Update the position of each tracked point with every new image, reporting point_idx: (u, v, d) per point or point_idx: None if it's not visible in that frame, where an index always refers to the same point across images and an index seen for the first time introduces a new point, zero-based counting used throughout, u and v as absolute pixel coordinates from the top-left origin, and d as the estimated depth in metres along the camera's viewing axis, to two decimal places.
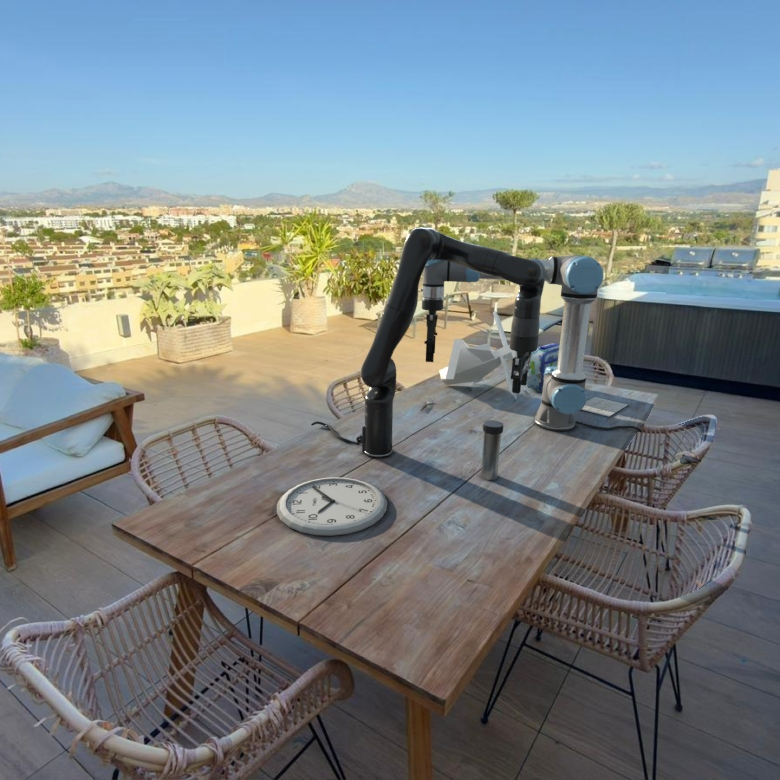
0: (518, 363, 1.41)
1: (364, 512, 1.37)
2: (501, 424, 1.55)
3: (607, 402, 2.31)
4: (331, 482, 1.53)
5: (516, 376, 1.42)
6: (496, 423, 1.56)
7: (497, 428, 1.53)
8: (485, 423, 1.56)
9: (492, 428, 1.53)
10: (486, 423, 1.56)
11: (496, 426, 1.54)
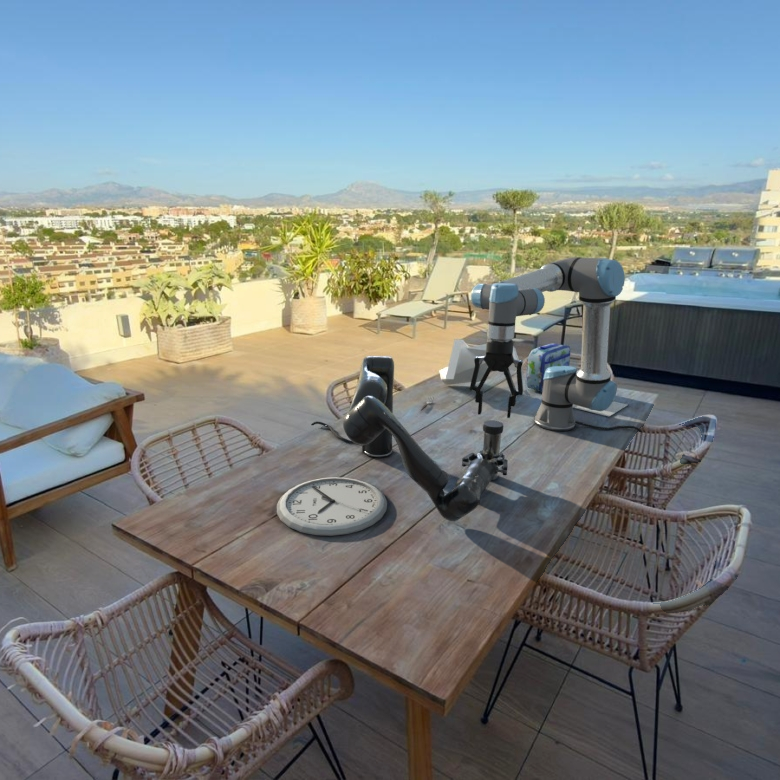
0: None
1: (364, 512, 1.37)
2: (501, 424, 1.55)
3: None
4: (331, 482, 1.53)
5: (470, 458, 1.59)
6: (496, 423, 1.56)
7: (497, 428, 1.53)
8: (485, 423, 1.56)
9: (492, 428, 1.53)
10: (486, 423, 1.56)
11: (496, 426, 1.54)
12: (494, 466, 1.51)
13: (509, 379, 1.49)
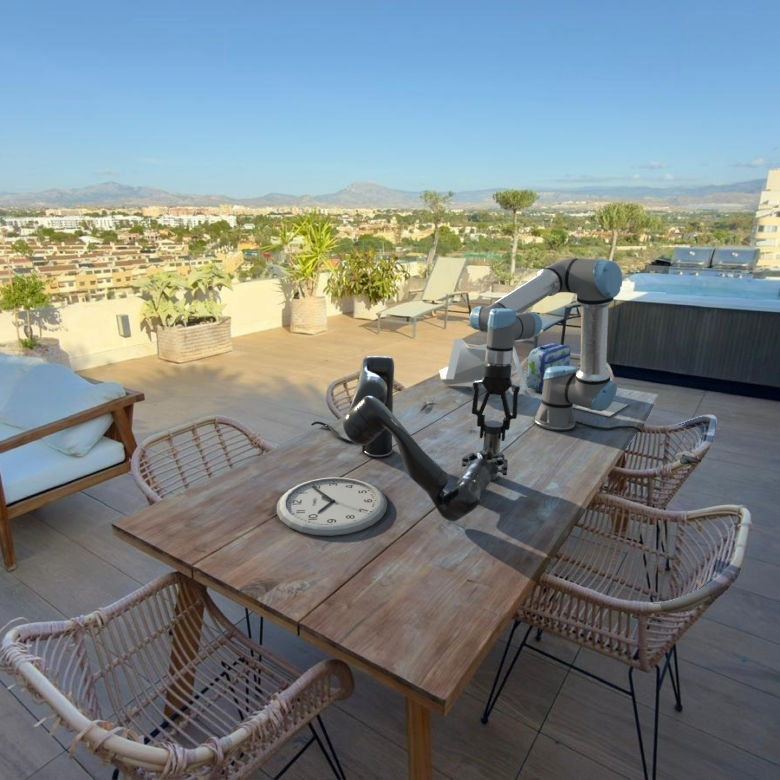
0: None
1: (364, 512, 1.37)
2: (501, 424, 1.55)
3: None
4: (331, 482, 1.53)
5: (470, 458, 1.59)
6: (496, 423, 1.56)
7: (497, 428, 1.53)
8: (485, 423, 1.56)
9: (492, 428, 1.53)
10: (486, 423, 1.56)
11: (496, 426, 1.54)
12: (494, 466, 1.51)
13: (505, 403, 1.52)
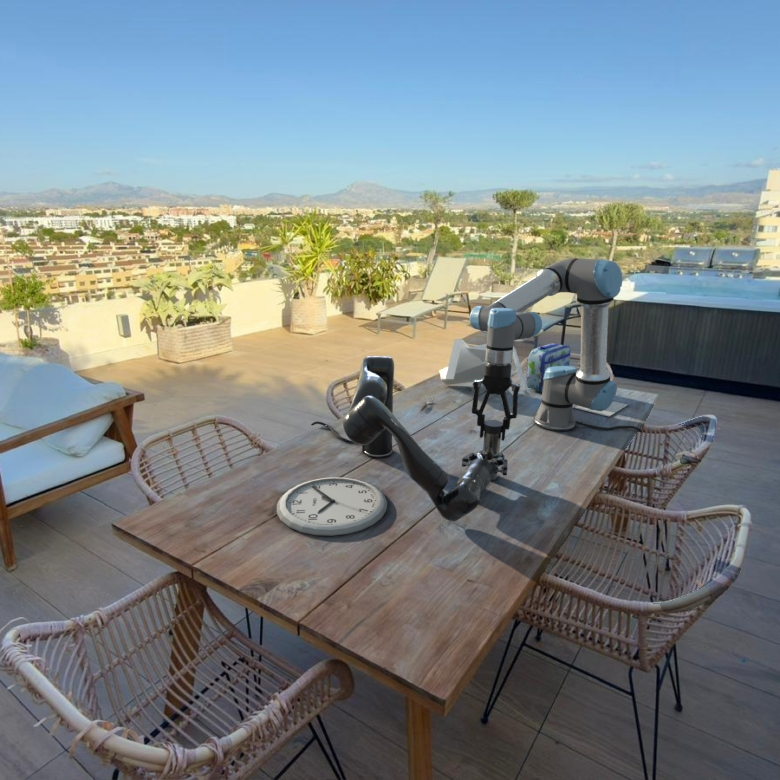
0: None
1: (364, 512, 1.37)
2: (490, 420, 1.58)
3: None
4: (331, 482, 1.53)
5: (470, 458, 1.59)
6: (491, 422, 1.57)
7: None
8: (497, 425, 1.54)
9: None
10: (497, 425, 1.54)
11: (498, 421, 1.57)
12: (494, 466, 1.51)
13: (505, 402, 1.52)
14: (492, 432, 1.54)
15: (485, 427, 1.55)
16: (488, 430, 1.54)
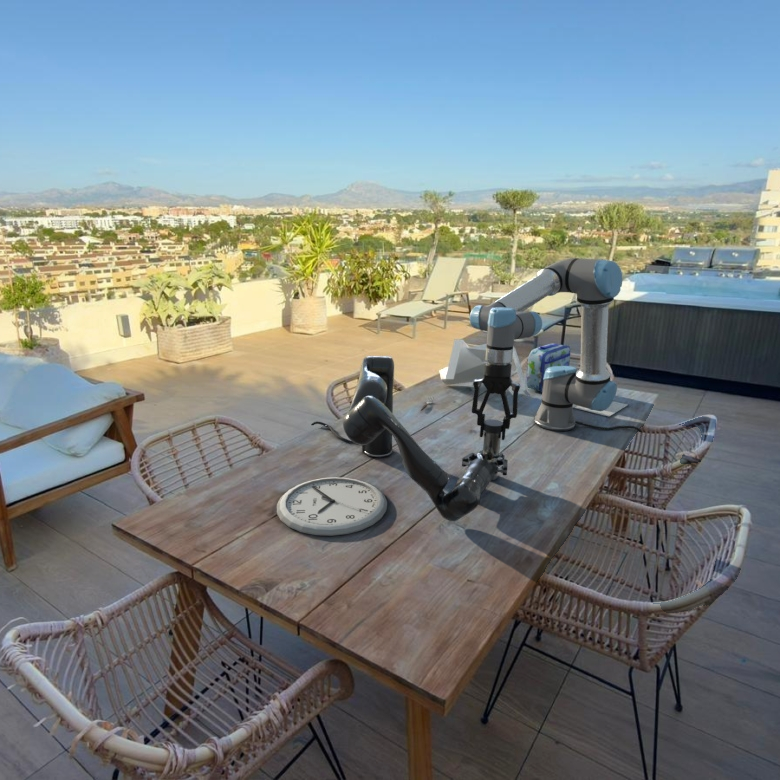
0: None
1: (364, 512, 1.37)
2: (487, 424, 1.55)
3: None
4: (331, 482, 1.53)
5: (470, 458, 1.59)
6: (491, 423, 1.55)
7: None
8: (498, 420, 1.57)
9: None
10: (497, 421, 1.57)
11: (486, 421, 1.57)
12: (494, 466, 1.51)
13: (505, 402, 1.52)
14: None
15: (501, 427, 1.54)
16: None
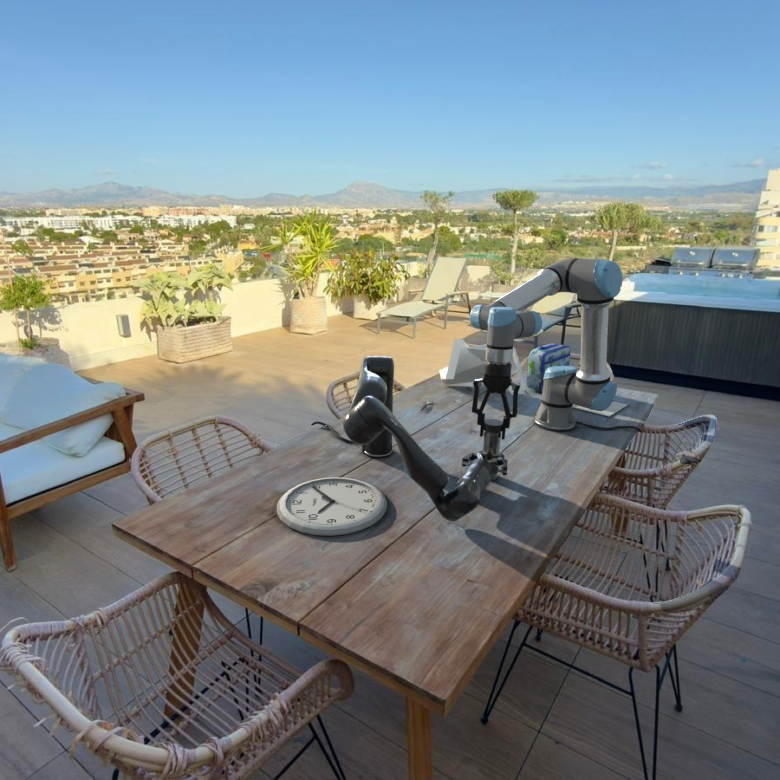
0: None
1: (364, 512, 1.37)
2: (500, 423, 1.54)
3: None
4: (331, 482, 1.53)
5: (470, 458, 1.59)
6: (496, 422, 1.55)
7: (493, 426, 1.53)
8: (485, 420, 1.57)
9: (488, 426, 1.54)
10: (486, 421, 1.56)
11: (493, 424, 1.54)
12: (494, 466, 1.51)
13: (505, 401, 1.52)
14: None
15: None
16: None
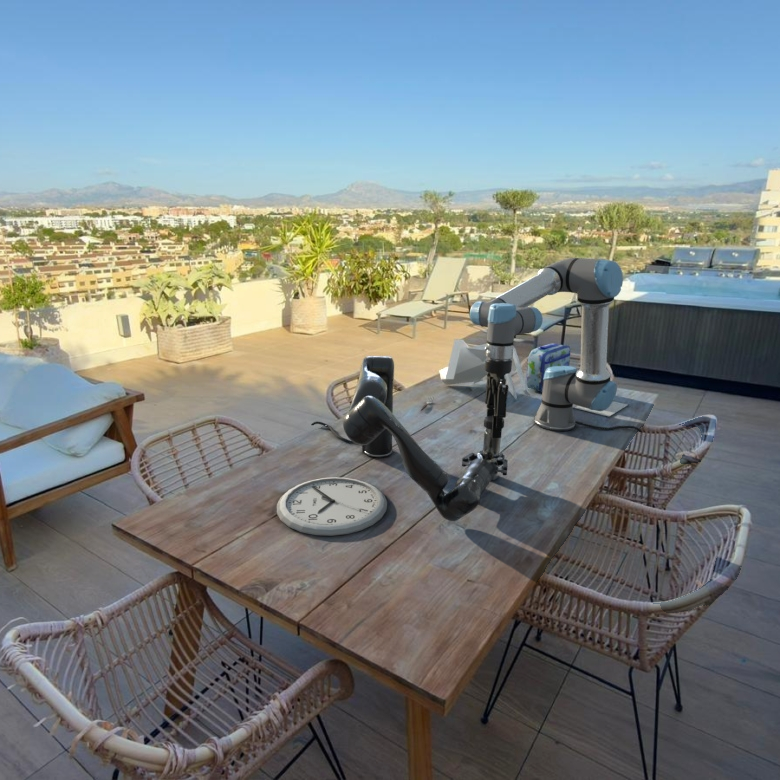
0: None
1: (364, 512, 1.37)
2: None
3: None
4: (331, 482, 1.53)
5: (470, 458, 1.59)
6: None
7: None
8: None
9: None
10: None
11: None
12: (494, 466, 1.51)
13: None
14: (489, 427, 1.54)
15: (484, 422, 1.56)
16: (486, 425, 1.55)
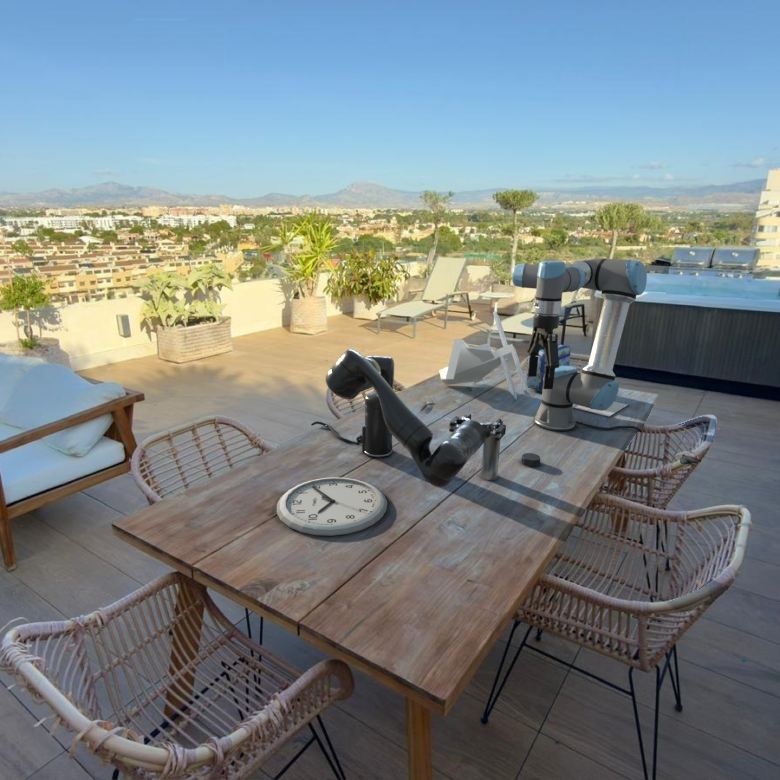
0: None
1: (364, 512, 1.37)
2: (530, 453, 1.72)
3: None
4: (331, 482, 1.53)
5: None
6: (530, 455, 1.71)
7: None
8: (533, 459, 1.68)
9: None
10: (532, 459, 1.68)
11: (537, 456, 1.71)
12: (486, 429, 1.35)
13: None
14: (527, 464, 1.68)
15: (522, 459, 1.70)
16: (524, 462, 1.69)
